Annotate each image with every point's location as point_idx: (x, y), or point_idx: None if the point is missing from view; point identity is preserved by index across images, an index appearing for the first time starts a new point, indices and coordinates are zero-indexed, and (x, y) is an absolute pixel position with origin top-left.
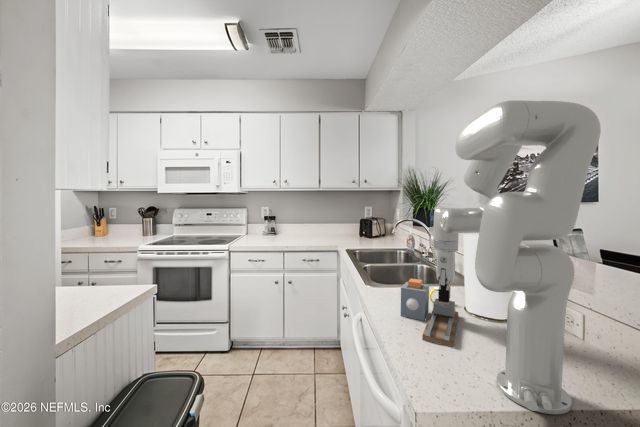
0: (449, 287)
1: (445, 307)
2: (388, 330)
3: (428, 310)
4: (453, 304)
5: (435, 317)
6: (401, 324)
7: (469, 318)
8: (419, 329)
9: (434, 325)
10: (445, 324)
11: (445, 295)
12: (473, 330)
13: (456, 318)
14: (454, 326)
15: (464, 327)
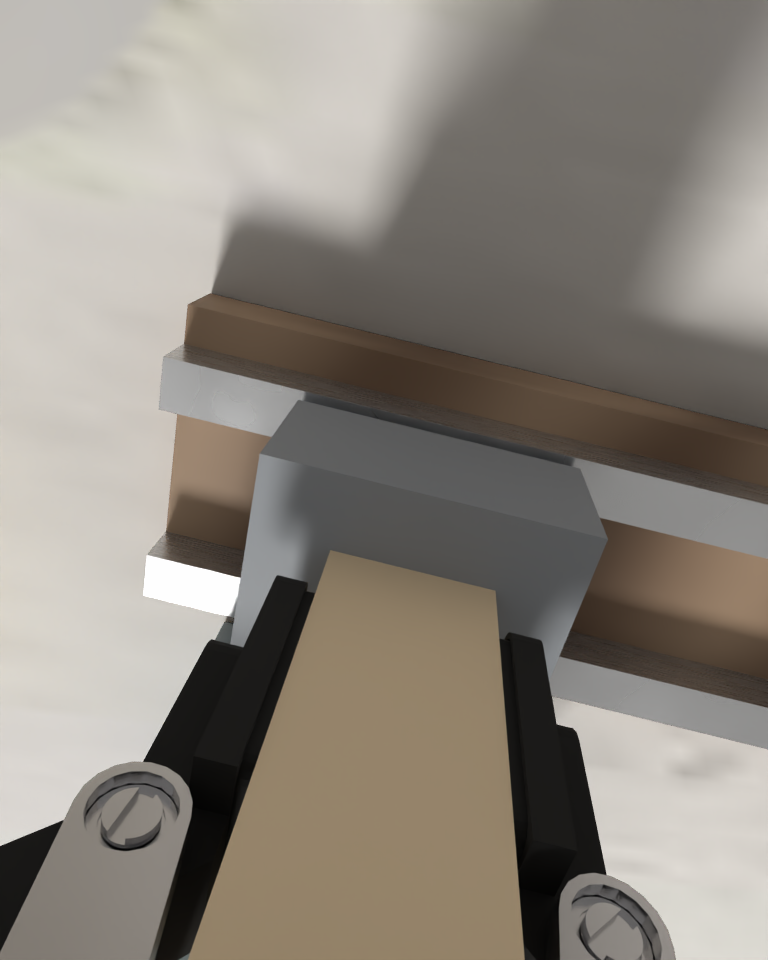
0: (394, 854)
1: (559, 633)
2: (761, 957)
3: (225, 640)
4: (433, 506)
5: (614, 672)
6: (617, 868)
7: (232, 138)
8: (711, 752)
9: (733, 666)
10: (690, 550)
11: (587, 813)
12: (659, 170)
13: (455, 378)
14: (744, 455)
15: (578, 280)
